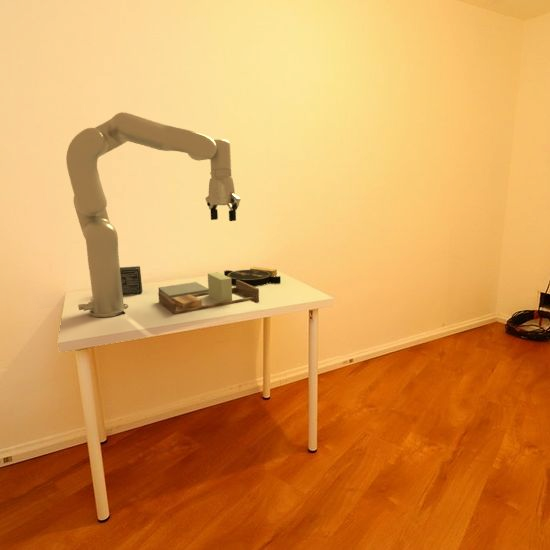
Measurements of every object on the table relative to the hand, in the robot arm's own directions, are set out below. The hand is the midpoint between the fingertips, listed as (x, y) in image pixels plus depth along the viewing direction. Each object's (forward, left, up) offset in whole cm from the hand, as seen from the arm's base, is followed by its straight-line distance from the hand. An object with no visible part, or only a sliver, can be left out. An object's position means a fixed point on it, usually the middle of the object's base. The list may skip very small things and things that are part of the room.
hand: (223, 220), depth 148 cm
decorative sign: (+20, +14, -30) cm, 39 cm away
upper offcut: (-20, -9, -28) cm, 35 cm away
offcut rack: (-11, -9, -29) cm, 32 cm away
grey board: (-15, +8, -29) cm, 34 cm away
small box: (-33, +23, -30) cm, 50 cm away
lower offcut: (-20, -9, -30) cm, 37 cm away
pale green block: (-7, -9, -29) cm, 32 cm away
